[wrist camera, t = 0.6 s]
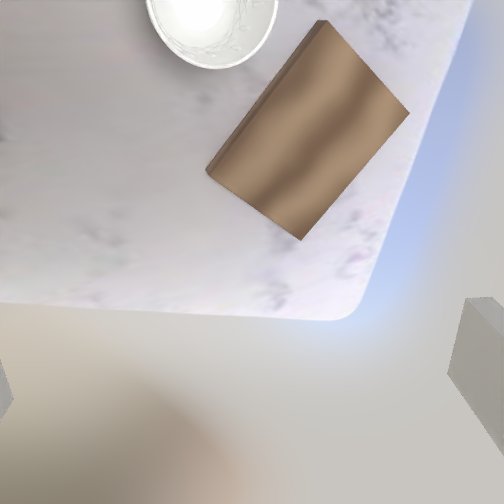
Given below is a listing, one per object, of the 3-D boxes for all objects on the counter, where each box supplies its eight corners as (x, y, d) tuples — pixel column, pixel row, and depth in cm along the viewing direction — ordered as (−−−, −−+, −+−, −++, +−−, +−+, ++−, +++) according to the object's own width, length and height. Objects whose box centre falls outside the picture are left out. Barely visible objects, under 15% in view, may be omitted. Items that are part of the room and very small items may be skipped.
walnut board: (205, 169, 40) (209, 176, 38) (317, 20, 36) (327, 20, 34) (294, 232, 45) (300, 240, 44) (398, 109, 42) (409, 113, 40)
